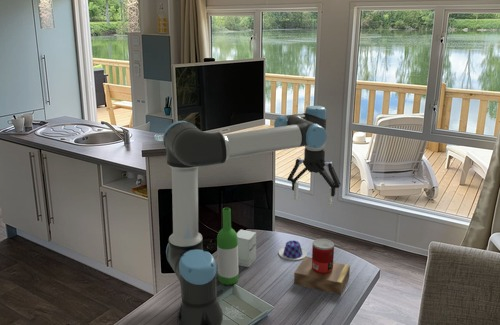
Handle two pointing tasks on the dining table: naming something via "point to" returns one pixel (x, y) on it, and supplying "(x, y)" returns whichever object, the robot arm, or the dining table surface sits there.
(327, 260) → the canned food
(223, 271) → the wine bottle
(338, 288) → the wooden block
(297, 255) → the pudding
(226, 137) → the robot arm
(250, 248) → the supplement box
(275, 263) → the dining table surface
